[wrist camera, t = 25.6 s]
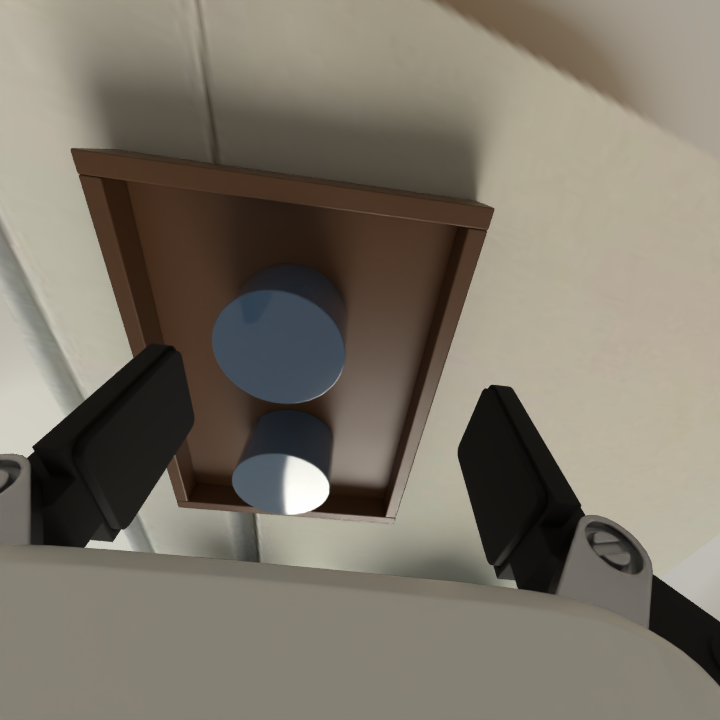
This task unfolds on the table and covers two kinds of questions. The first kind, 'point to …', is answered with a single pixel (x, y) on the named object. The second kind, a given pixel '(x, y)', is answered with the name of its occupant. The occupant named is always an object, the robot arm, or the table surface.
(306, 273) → the blue-grey hockey puck
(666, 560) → the table surface
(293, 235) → the tray
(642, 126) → the table surface
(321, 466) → the blue short cylinder
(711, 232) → the table surface
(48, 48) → the table surface
